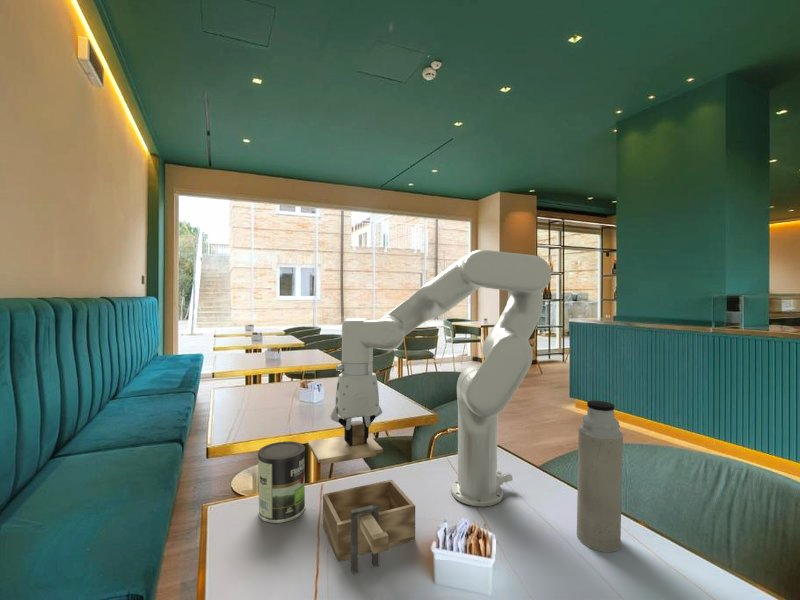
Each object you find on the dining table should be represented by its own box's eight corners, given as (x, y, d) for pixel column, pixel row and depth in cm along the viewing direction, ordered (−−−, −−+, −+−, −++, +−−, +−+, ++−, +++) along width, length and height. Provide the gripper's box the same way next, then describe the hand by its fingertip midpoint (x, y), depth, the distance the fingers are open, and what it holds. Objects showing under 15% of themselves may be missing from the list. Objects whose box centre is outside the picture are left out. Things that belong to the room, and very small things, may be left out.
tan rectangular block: (369, 521, 74) (369, 508, 74) (388, 549, 66) (388, 535, 66) (356, 524, 73) (356, 511, 73) (373, 554, 65) (373, 539, 65)
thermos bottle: (602, 525, 86) (605, 396, 85) (629, 550, 78) (633, 407, 77) (568, 529, 85) (571, 398, 84) (592, 554, 77) (595, 409, 76)
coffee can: (312, 501, 96) (312, 442, 95) (292, 526, 86) (292, 461, 85) (273, 496, 98) (272, 439, 97) (248, 520, 88) (248, 456, 87)
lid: (366, 439, 106) (366, 413, 106) (382, 456, 96) (383, 428, 95) (307, 448, 100) (308, 421, 99) (318, 468, 89) (318, 437, 89)
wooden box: (391, 509, 92) (392, 462, 92) (424, 551, 78) (424, 495, 77) (322, 526, 86) (322, 475, 85) (344, 576, 71) (344, 515, 71)
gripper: (328, 374, 91) (327, 454, 92) (394, 369, 98) (393, 443, 99) (320, 368, 98) (319, 442, 99) (382, 363, 105) (381, 433, 106)
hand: (356, 442), depth 99 cm, fingers closed on lid, 3 cm apart
